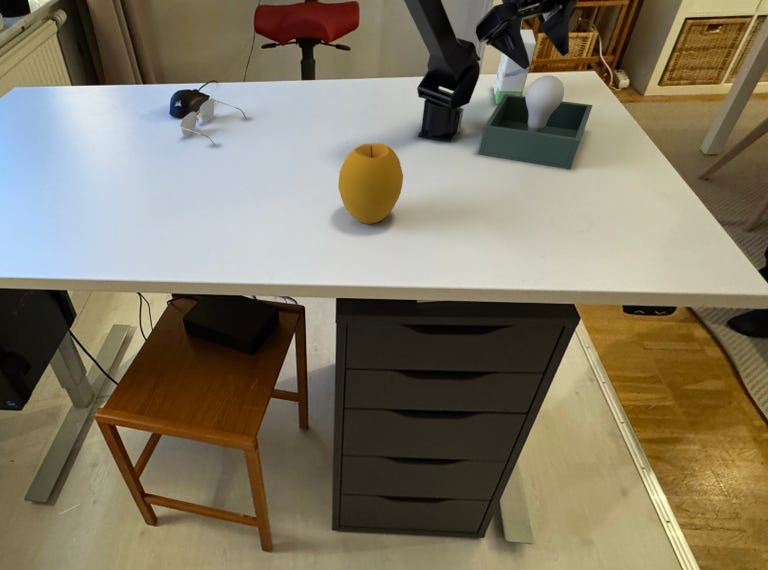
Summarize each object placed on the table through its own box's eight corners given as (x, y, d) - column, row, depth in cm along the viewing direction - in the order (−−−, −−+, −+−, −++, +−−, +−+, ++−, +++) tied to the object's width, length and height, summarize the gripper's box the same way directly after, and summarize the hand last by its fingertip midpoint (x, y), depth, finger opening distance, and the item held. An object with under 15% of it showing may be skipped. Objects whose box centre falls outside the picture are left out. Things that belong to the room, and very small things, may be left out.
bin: (478, 154, 98) (484, 126, 95) (499, 120, 108) (504, 94, 104) (570, 169, 93) (579, 140, 89) (583, 132, 102) (592, 104, 98)
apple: (373, 194, 91) (377, 124, 82) (413, 219, 85) (422, 146, 76) (326, 214, 87) (325, 143, 79) (364, 241, 81) (368, 167, 73)
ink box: (493, 89, 119) (505, 28, 110) (518, 89, 118) (532, 28, 109) (495, 104, 113) (508, 41, 104) (521, 105, 112) (537, 41, 103)
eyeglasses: (215, 114, 118) (214, 95, 115) (248, 121, 116) (247, 102, 113) (180, 141, 110) (177, 121, 107) (214, 149, 107) (212, 129, 104)
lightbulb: (547, 132, 101) (565, 69, 94) (552, 147, 97) (572, 82, 89) (513, 132, 102) (528, 70, 94) (517, 147, 98) (533, 83, 90)
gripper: (504, -57, 79) (543, 44, 81) (591, -78, 85) (626, 17, 86) (458, -4, 90) (493, 85, 91) (538, -26, 96) (570, 58, 97)
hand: (546, 61), depth 91 cm, fingers open, 9 cm apart
